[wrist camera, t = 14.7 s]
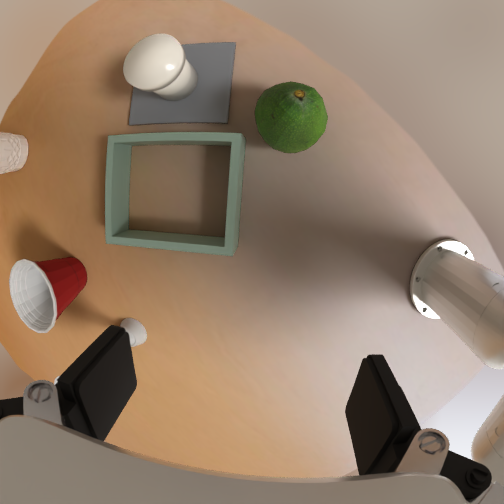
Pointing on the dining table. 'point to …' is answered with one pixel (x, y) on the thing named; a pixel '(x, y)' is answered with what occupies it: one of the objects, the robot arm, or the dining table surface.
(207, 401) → the dining table surface
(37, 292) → the plastic cup
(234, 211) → the green open box
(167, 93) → the white mushroom shaped cylinder
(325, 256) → the dining table surface
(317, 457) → the dining table surface
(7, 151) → the white cup
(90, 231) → the dining table surface
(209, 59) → the mat
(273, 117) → the avocado
